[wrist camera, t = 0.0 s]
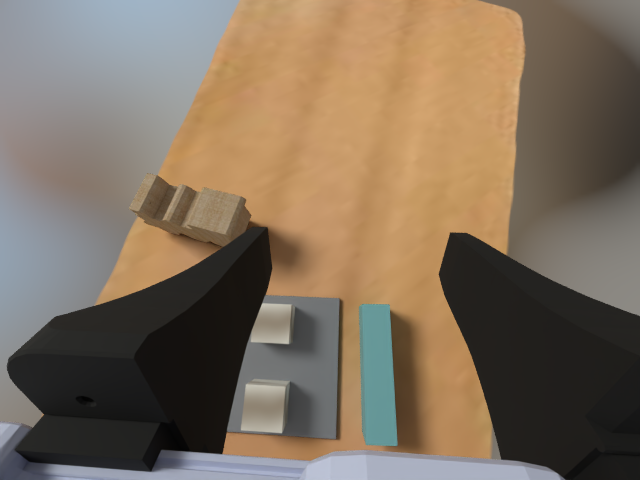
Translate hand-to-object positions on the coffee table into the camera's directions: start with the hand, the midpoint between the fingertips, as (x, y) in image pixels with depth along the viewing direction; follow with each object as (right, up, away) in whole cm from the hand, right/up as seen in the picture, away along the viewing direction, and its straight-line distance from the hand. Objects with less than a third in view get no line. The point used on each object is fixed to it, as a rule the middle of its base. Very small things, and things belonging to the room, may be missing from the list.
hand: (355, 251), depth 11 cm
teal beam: (+6, -17, +28) cm, 34 cm away
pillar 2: (-8, -21, +27) cm, 35 cm away
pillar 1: (-8, -12, +30) cm, 33 cm away
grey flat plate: (-7, -17, +29) cm, 34 cm away
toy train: (-20, +3, +36) cm, 41 cm away
